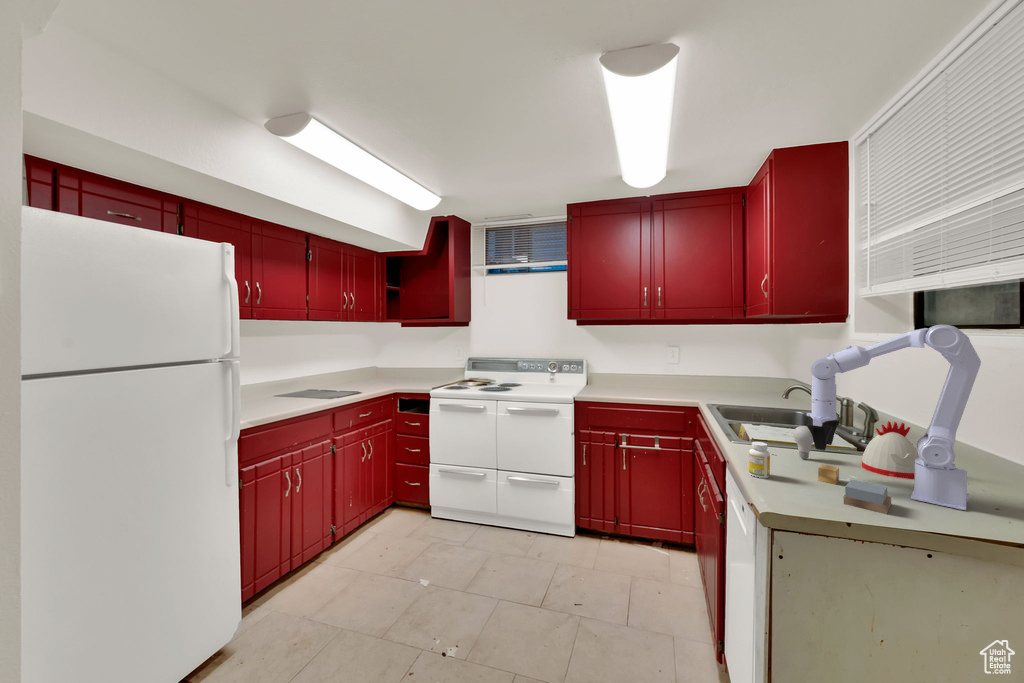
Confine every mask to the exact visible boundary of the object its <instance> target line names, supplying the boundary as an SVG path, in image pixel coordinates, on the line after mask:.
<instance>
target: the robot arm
mask: <svg viewBox="0 0 1024 683" xmlns="http://www.w3.org/2000/svg"><path fill="white" fill-rule="evenodd" d="M925 344H926V345H927V346H928V347H930V348H931V349H933V350H934V351H937V352H938V353H940V354H941V355H942V357H943V358H944V359H945V360H946V361H947V362H948V363H949V364H950V365H949V366H950V367H949V369H948V371H947V374H946V378H945V381H944V384H943V386H942V389H941V392H940V394H939V395H940V396H939V398H938V401H937V404H936V406H935V409H934V412H933V414H932V417H931V420H930V423H929V425H928V427H927V429H926V431H925V433H924V435H922V436H920V437H919V439H918V440H916V441H917V442H916V449H917V452H918V453H919V458H917V459H915V479H914V483H913V484H914V488H913V490H912V493H911V496H910V499H911V500H914V501H920V502H925V503H928V504H929V503H930V504H933V505H938V506H942V507H948V508H951V509H957V510H962V511H967V502H969V500H970V497H969V496H970V495H969V493H968V492H967V491H968V487H967V486H968V470H967V469H961V468H958V467H956V466H957V465H956V464H955V463H954V462H955V460H956V454H955V452H954V447H955V443H956V437H957V436H956V435H957V432H958V429H959V426H960V423H961V420H962V417H963V414H964V411H965V408H966V406H967V403H968V401H969V398H970V395H971V392H972V389H973V387H974V384H975V382H976V380H977V379H976V378H977V377H978V376H977V375H978V373H979V370H980V369H981V364H982V361H981V358H980V356H979V355H978V353H977V352H976V349H975V347H974V346H973V344H972V342H971V340H970V338H969V336H968V335H967V334H965V333H964V332H963V331H962V330H960V329H959V328H958V327H956V326H954V325H950V324H936V325H932V326H930V327H929V328H927V327H924V328H919V329H916V330H910V331H908V332H904V333H901V334H899V335H896V336H893V337H891V338H889V339H885V340H882V341H880V342H878V343H877V342H876V343H875V344H872V345H870V346H867V347H863V346H860V345H855V346H852V345H848V346H846V347H845V349H843V350H840V351H837V352H834V353H832V354H831V353H826V355H825V357H821V358H820V357H819V358H818V359H816V360H814V361H813V362H812V363H811V364H810V372H811V374H812V376H811V381H812V382H811V412H807V413H806V416H807V417H810V418H811V419H812V423H811V422H808V423H807V424H806V427H808V429H809V430H810V432H811V434H812V437H813V441H814V442H813V445H814V448H815V450H820V451H826V448H827V445H829V446H832V444H833V441H834V437H835V433H836V430H837V429H838V426H839V425H840V423H841V420H838V415H837V384H836V374H837V373H839V374H844V373H846V372H847V373H848V372H850V371H853V370H856V369H859V368H862V367H866V366H868V365H869V364H870V361H871V359H873V358H876V357H879V356H883V355H886V354H890V353H892V352H896V351H900V350H902V349H906V348H922V349H924V348H925Z"/></svg>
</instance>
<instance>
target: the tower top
mask: <svg viewBox="0 0 1024 683" xmlns="http://www.w3.org/2000/svg"><path fill="white" fill-rule="evenodd" d="M844 489H845V490H844V492H845V493H844V495H845V497H849V498H854V499H858V500H862V501H867V502H871V503H876V504H880V505H883V504H884V502H885V500H886V498H887V496H888V486H886V485H879V484H875V483H871V482H865V481H860V480H855V479H849V481H848V482H847V484H846V485H845V488H844Z"/></svg>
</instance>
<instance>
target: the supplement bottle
mask: <svg viewBox="0 0 1024 683" xmlns="http://www.w3.org/2000/svg"><path fill="white" fill-rule="evenodd" d="M770 461H771V452H769V451H768V444H767V443H766V442H762V441H752V442H751V449H749V451H748V474H749V475H750V476H751V475H752V476H751V477H753V476H755V477H754V478H756V477H759V478H758V479H768V478H770V472H771V471H770V469H771V467H770V466H771V464H770V463H771V462H770Z"/></svg>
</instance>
